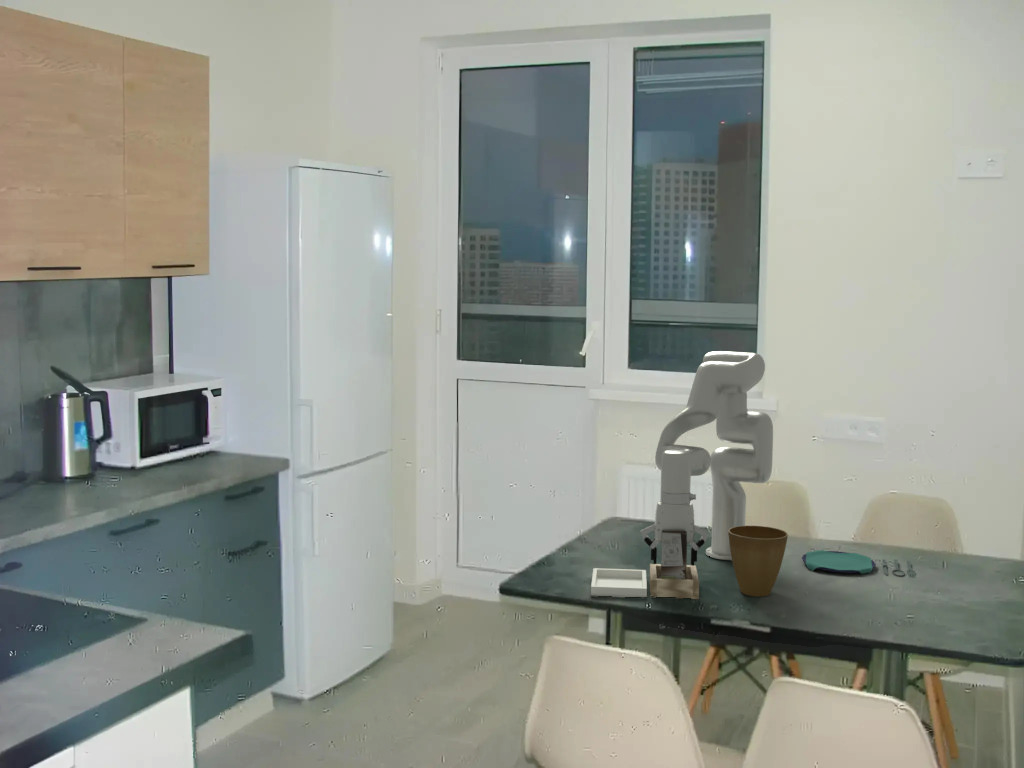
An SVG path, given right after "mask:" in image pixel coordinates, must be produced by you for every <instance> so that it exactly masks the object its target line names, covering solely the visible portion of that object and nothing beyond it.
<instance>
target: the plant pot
mask: <svg viewBox="0 0 1024 768" xmlns="http://www.w3.org/2000/svg"><path fill="white" fill-rule="evenodd" d="M728 535H729V544H730V551H731V557H732V560H731V562H732V566H733V570H734V574H735V578H736V581H737V584H738V588H739V590H740V592H741V594H743V595H745V596H749V597H761V598H762V597H767V596H770V595H771V592H772V590H773V588H774V586H775V583H776V581H777V578H778V575H779V573H780V570H781V568H782V564H783V560H784V555H785V551H786V547H787V541H788V537H789V533H788V532H787V531H786V530H783V529H780V528H776V527H770V526H763V525H745V526H737V527H732V528H730V529H729V530H728Z"/></svg>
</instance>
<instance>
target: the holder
mask: <svg viewBox="0 0 1024 768" xmlns="http://www.w3.org/2000/svg"><path fill="white" fill-rule="evenodd" d="M697 570H698V569H697V566H696V565H695V564H694V566H692V565H691V564H687V567H686V579H661V563H656V564H654V563H649V590H650V591H649V592H650V594H651V595H650V594H649V595H650V597H651V596H655V597H654V598H656V596H657V597H676V598H675V599H683V598H691V600H699V599H700V580H699V575H698V571H697Z"/></svg>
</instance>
